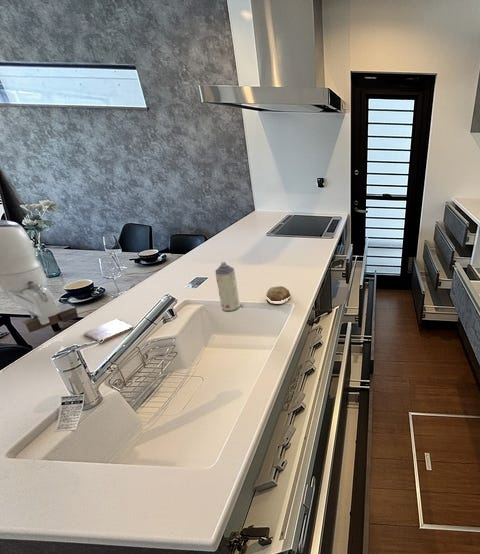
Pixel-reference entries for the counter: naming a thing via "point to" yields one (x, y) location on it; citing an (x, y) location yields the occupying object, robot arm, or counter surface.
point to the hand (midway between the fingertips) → (41, 321)
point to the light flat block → (108, 330)
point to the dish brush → (52, 318)
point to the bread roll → (278, 293)
